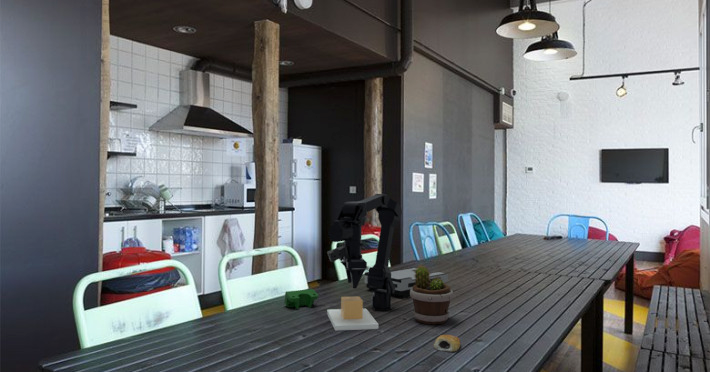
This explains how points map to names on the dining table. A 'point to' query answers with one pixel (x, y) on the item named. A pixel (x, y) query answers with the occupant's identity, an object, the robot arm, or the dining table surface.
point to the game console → (407, 280)
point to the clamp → (300, 298)
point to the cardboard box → (351, 307)
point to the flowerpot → (430, 298)
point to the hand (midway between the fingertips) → (352, 285)
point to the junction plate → (352, 321)
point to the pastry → (447, 343)
